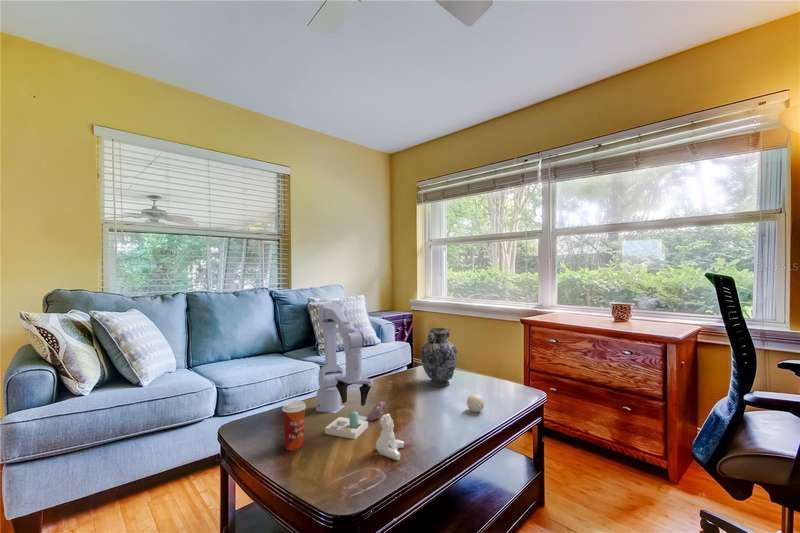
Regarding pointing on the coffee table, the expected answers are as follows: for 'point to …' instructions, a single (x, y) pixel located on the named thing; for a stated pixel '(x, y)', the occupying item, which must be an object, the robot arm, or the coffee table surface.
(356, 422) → the plug
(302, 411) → the paper cup
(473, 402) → the baseball
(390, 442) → the white creature statuette
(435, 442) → the coffee table surface
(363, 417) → the mat
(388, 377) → the coffee table surface
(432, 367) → the decorative vase
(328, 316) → the robot arm
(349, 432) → the socket board
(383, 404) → the video game controller
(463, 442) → the coffee table surface
